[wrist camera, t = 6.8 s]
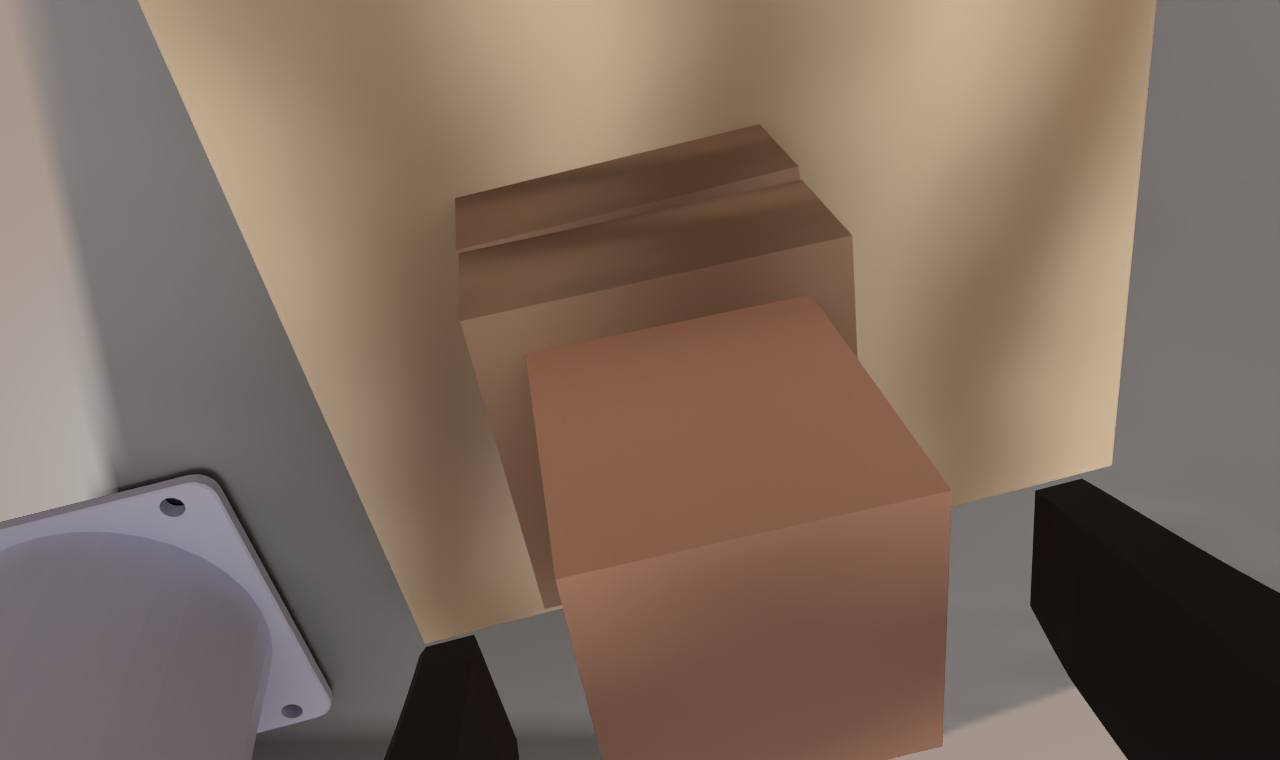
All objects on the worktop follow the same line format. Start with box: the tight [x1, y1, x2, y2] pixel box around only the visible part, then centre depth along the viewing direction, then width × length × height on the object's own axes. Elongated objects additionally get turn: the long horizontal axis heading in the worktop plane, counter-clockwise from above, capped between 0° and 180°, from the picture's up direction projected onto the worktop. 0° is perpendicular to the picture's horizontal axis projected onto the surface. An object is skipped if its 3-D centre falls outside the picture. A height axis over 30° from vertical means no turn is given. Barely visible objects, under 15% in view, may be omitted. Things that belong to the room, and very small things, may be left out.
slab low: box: [455, 124, 800, 259], centre depth 19 cm, size 6×6×2 cm
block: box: [525, 294, 952, 760], centre depth 14 cm, size 4×4×5 cm
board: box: [138, 0, 1156, 644], centre depth 19 cm, size 18×22×1 cm
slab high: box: [459, 180, 858, 609], centre depth 17 cm, size 6×6×2 cm
